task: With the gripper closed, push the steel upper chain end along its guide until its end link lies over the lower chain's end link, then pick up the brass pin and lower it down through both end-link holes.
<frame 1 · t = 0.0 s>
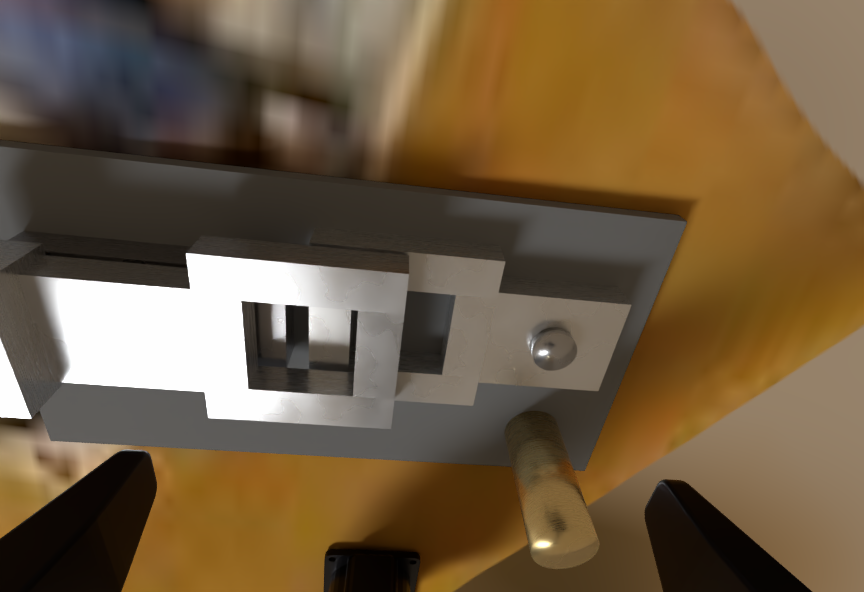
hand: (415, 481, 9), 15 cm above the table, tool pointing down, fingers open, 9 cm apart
lower chain end: (333, 321, 22), on the gray rectangular board, point 1 cm above the table
gray rectangular board: (400, 304, 24), on the table
upper chain end: (185, 342, 19), point 4 cm above the table, slide at 4.0 cm
brass pin: (531, 430, 28), point 1 cm above the table, touching gray rectangular board
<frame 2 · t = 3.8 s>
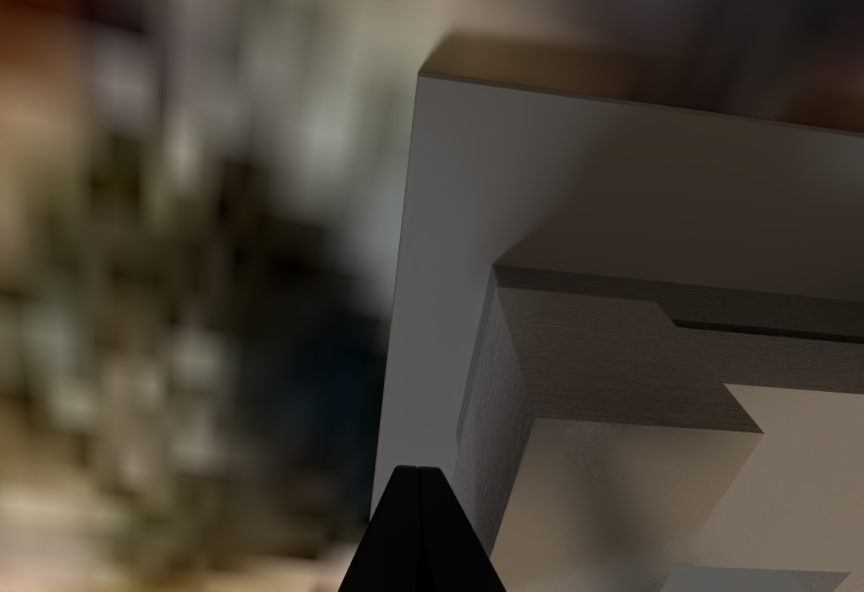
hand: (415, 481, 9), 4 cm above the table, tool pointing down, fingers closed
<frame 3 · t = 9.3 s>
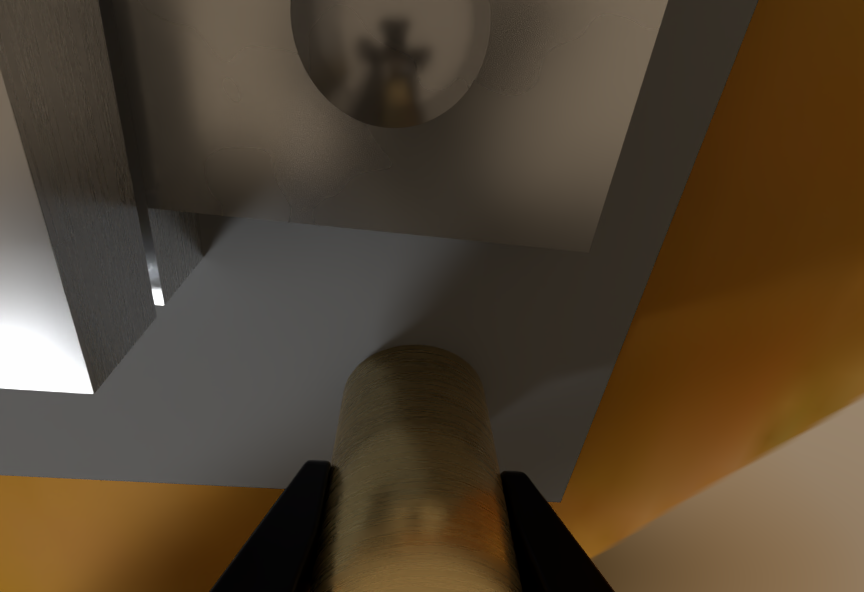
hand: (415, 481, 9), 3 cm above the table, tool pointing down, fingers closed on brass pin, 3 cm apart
brass pin: (414, 401, 10), point 1 cm above the table, touching gripper, gray rectangular board
when the fingers open (5 cm above the table, at t = 13.7 s): brass pin drops 2 cm, resting on gray rectangular board.
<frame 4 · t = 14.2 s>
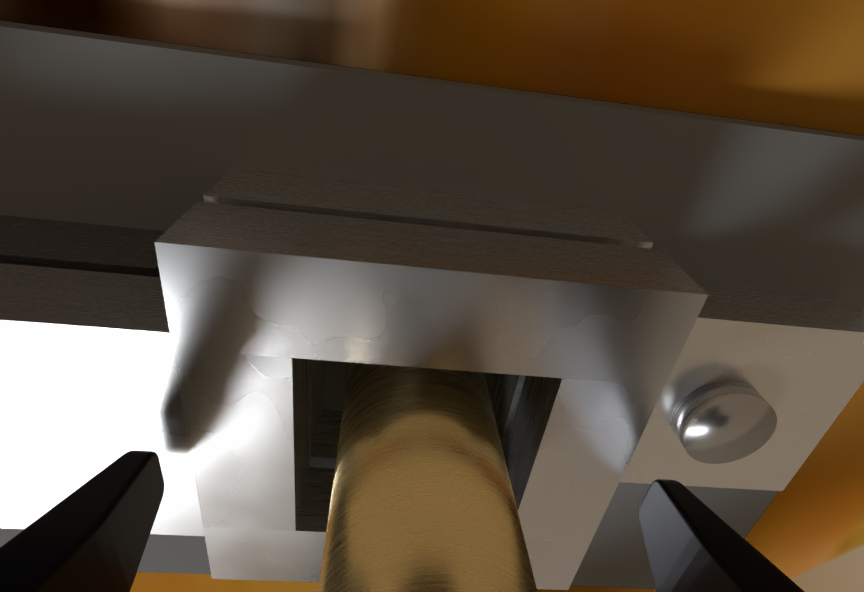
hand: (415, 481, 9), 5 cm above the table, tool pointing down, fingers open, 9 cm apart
lower chain end: (277, 367, 11), on the gray rectangular board, point 1 cm above the table
gray rectangular board: (413, 329, 13), on the table
upper chain end: (160, 447, 9), point 4 cm above the table, slide at 0.0 cm
brass pin: (414, 347, 12), point 1 cm above the table, touching gray rectangular board
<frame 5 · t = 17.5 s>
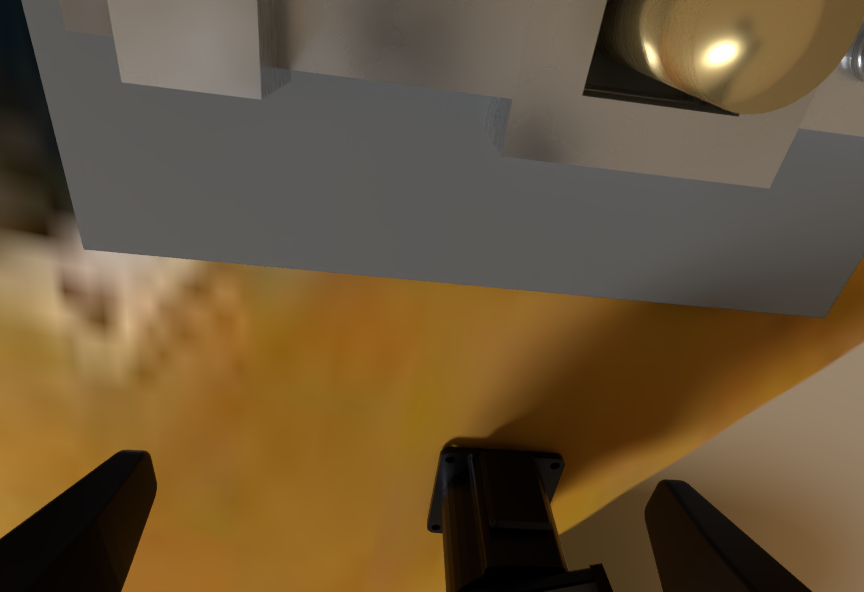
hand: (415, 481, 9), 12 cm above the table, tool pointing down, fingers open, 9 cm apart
gray rectangular board: (626, 10, 16), on the table
brass pin: (637, 9, 15), point 1 cm above the table, touching gray rectangular board
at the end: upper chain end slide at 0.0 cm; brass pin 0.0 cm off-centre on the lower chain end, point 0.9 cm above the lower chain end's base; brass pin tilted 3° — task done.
